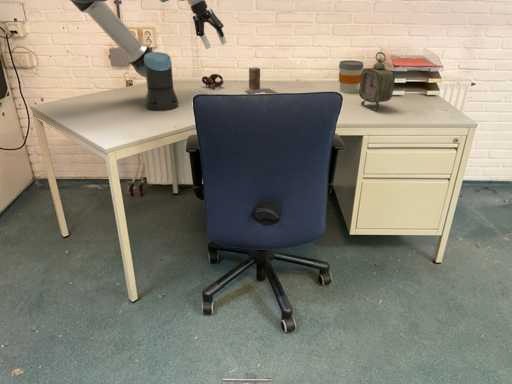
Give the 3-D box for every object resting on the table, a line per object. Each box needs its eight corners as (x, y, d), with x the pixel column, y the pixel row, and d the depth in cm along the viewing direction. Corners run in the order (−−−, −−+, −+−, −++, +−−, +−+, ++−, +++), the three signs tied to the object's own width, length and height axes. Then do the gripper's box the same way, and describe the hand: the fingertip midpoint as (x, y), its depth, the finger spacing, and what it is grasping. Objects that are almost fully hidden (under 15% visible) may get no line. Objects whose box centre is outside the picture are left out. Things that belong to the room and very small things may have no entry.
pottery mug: (222, 86, 228) (225, 74, 222) (220, 97, 223) (223, 85, 216) (201, 80, 227) (203, 68, 220) (198, 91, 221) (201, 80, 214)
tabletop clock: (357, 104, 195) (364, 50, 183) (372, 102, 198) (380, 49, 186) (374, 112, 183) (383, 55, 171) (391, 110, 186) (401, 54, 174)
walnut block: (252, 90, 218) (252, 69, 213) (249, 88, 222) (249, 67, 216) (259, 89, 220) (260, 68, 214) (256, 87, 223) (256, 67, 218)
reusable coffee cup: (335, 93, 214) (338, 64, 207) (337, 87, 225) (340, 59, 218) (359, 94, 211) (363, 65, 204) (360, 89, 222) (363, 61, 215)
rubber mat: (253, 96, 207) (253, 95, 206) (245, 91, 215) (245, 90, 215) (277, 93, 212) (277, 92, 212) (268, 89, 221) (268, 88, 220)
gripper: (217, -8, 182) (237, 38, 192) (189, 5, 201) (207, 46, 211) (205, -2, 179) (226, 45, 188) (177, 11, 197) (197, 52, 207)
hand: (216, 46), depth 199 cm, fingers open, 13 cm apart
